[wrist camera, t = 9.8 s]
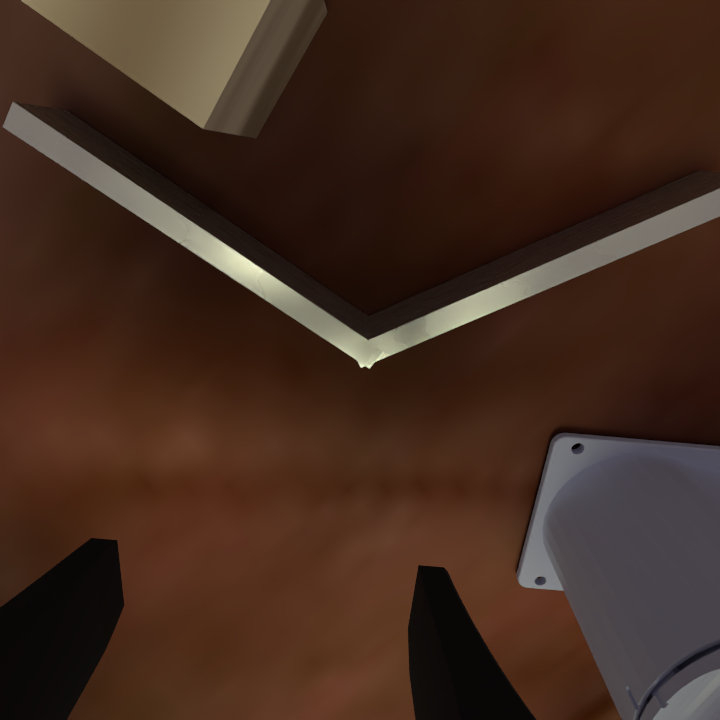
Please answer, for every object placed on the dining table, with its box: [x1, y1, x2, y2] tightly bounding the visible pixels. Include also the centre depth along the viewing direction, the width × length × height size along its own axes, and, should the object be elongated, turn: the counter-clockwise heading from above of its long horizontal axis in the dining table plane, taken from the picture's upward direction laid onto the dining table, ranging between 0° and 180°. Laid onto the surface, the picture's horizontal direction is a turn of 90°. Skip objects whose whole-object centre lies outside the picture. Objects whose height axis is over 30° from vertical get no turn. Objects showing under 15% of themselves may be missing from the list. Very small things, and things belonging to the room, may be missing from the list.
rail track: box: [3, 102, 720, 369], centre depth 16 cm, size 22×17×3 cm
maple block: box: [21, 0, 327, 138], centre depth 13 cm, size 4×4×6 cm
